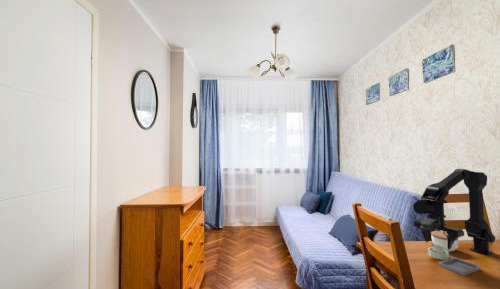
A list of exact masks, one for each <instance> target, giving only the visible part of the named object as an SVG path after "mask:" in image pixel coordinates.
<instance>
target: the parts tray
mask: <svg viewBox="0 0 500 289" xmlns="http://www.w3.org/2000/svg"><path fill="white" fill-rule="evenodd" d="M438 266H439V267H441V268H444V269H446V270H448V271H451V272H453V273H456V274H459V275H461V276H464V277H465V276H467V275H469V274H473V273H475V272H477V271H480V270H481V265H478V264H475V263H472V262H470V261H466V260H464V259H461V258H457V257H455V256H454V257H451V258H449V259H448V260H442V261H440V262H438Z"/></svg>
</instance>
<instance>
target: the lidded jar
mask: <svg viewBox="0 0 500 289" xmlns="http://www.w3.org/2000/svg"><path fill="white" fill-rule="evenodd" d="M430 235H431V236H430V237H431V242H432V245H440V246H443V250H446V251H448V252H454V251H456V250H457V248H458V246H459V237H458V238H457V239H456V240H455V241H454V243H453V245H452V247H451V249H448V238H447V236H446V235H448V234H447V232H445V231H441V230H435V231H430Z"/></svg>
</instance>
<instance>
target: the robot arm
mask: <svg viewBox="0 0 500 289" xmlns="http://www.w3.org/2000/svg"><path fill="white" fill-rule="evenodd" d="M462 181H463V183H464V186H466V188H467V189H468V204H469V206H468V207H469V218H468V219H467V220H465V221H464V229H465V231H464V230H463V228H458V227H456V226H455V227H454V226H452V227H447V223H445V222H446V221H445V218H446V217H447V215H446V214H445V204H448V201H447V200H446V197H448V196H449V193H450V190H452V189H453V188H454V187H455V186H456V185H458V184H459V183H460V182H462ZM487 182H488V176H487V174H485V173H484V171H483V172H482V171H481V172H480V171H472V170H469V169H465V168H464V169H463V168H456V169H454V171H453V172H451V173H450V174H449V175H447V176H446V177H445V178H443V179H442V180H441V181H438V182H435V183H432V184H429V185H427V186H426V187H425V190H424V191H423V194H422V195H421V197H420V198H417V199H416V201H415V202H414V203H413V206H412V207H413V210H414V212H415V213H416V214H418V215H426V218H424V219H422V218H418V219H414V220H413V223H412V224H413V226H414V227H416V229H419V230H420V232H421V234H422V236H423V238H424V240H425V243H429V240H430V239H429V238H430V232H432V231H445V232H447V234H448V235H446V236H447V238H448V249H451V247H452V245H453V243H454V241H455V240H456V239H457V238H458V239H459V238H461V237H465V232H466V234H467V237H470V238H472V242H473V243H472V245H473V247H471V248H469V250H470V251H473V252H477V253H480V254H483V255H491V254H494V251H493V250H490V243H491V244H492V243H494V242H496V236H495V235H494V234H493V233H492V232H491V230H490V226H489V224H488V223H487V221H486V220H485V218H484V217H485V214H484V198H483V197H484V196H483V195H484V194H483V190H484V189H485V187H486V186H487V184H488V183H487Z"/></svg>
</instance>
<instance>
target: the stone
mask: <svg viewBox="0 0 500 289" xmlns="http://www.w3.org/2000/svg"><path fill="white" fill-rule="evenodd" d="M432 247H433V252H435V253H440V254H444V250H443V246H440V245H434V244H432Z"/></svg>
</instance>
